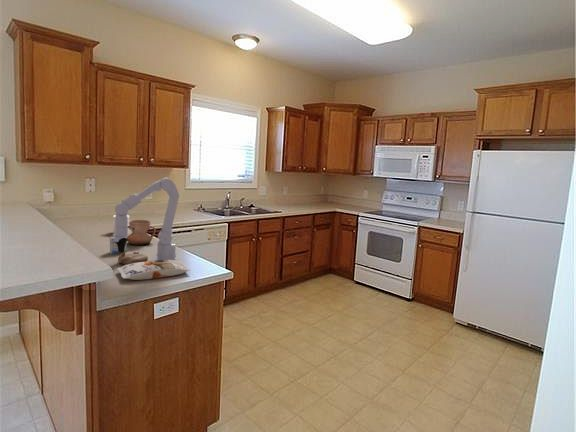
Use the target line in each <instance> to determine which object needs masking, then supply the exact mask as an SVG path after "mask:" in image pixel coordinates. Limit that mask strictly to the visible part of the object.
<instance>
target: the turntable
mask: <svg viewBox="0 0 576 432" xmlns="http://www.w3.org/2000/svg"><path fill="white" fill-rule="evenodd" d="M148 257H149V256H148V255H146V254H142V253H139V254H133V253H127V254H126V253H125V249H124V252H123V253H120V256H118V257H117V262H118V263H120V264H123V265H126V264H133V263H138V262H145V261H149V258H148Z"/></svg>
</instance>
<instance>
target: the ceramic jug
mask: <svg viewBox="0 0 576 432" xmlns="http://www.w3.org/2000/svg"><path fill="white" fill-rule="evenodd" d="M128 228H129V229H130V230H131V231H130V232H132V233H129V234H128V237H126V238H128V241H127V243H129V244H132V245H137V246H140V245H141V246H142V245H146V244H149V243H151V242H152V240H153V237H154V236H155V233H156V230H157V229H156V227H155V226H154V225H151V221H150V220H148V219H147V220H146V219H131V220H130V221H129V226H128ZM149 229H153V230H152V234H151V235H150V234H148V230H149Z"/></svg>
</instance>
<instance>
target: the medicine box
mask: <svg viewBox="0 0 576 432" xmlns="http://www.w3.org/2000/svg"><path fill="white" fill-rule="evenodd" d="M114 238H115V236H110V237H109V252H110V254H111V255H112V254H113V255H114V254H120V253H119V251H118V246H117V244H116V242H114ZM125 238H127V237H125ZM125 252H126V253H127V244H126V245H125Z"/></svg>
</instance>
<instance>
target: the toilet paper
mask: <svg viewBox="0 0 576 432" xmlns="http://www.w3.org/2000/svg"><path fill="white" fill-rule="evenodd" d="M115 217H116V216H115V214H114V215H112V220H113V221H112V222H113V224H112V227H113V229H112V231H113V234H115ZM127 218H128V226H129V221H131V220H130V218H131V216H130V215H129V214H127ZM130 232H131V231H130V229H129V228H128V234H131V233H130Z"/></svg>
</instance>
